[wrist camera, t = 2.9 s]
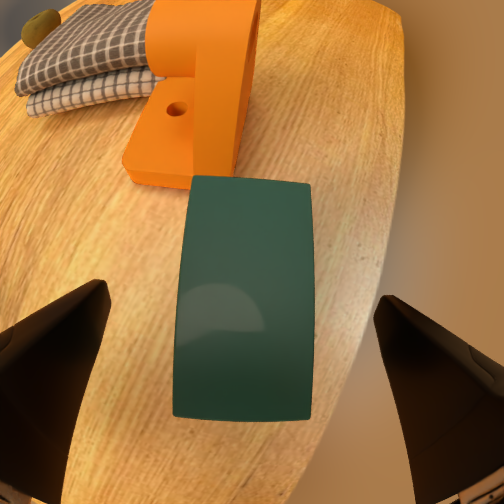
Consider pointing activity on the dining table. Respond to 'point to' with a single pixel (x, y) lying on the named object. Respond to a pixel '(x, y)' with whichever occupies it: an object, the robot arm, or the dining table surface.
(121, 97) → the towel
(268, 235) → the dark green block
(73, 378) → the robot arm
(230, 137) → the bracket
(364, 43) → the dining table surface
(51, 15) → the apple
